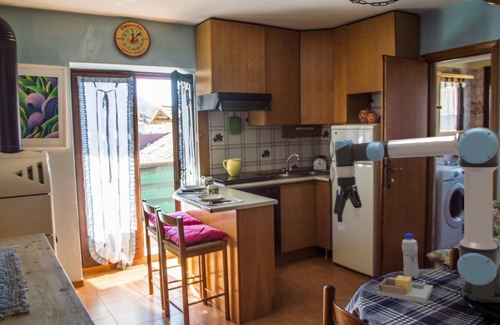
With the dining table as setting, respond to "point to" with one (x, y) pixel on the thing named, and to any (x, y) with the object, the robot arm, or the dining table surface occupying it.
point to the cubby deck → (416, 294)
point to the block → (404, 283)
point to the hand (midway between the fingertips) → (349, 226)
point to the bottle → (410, 256)
